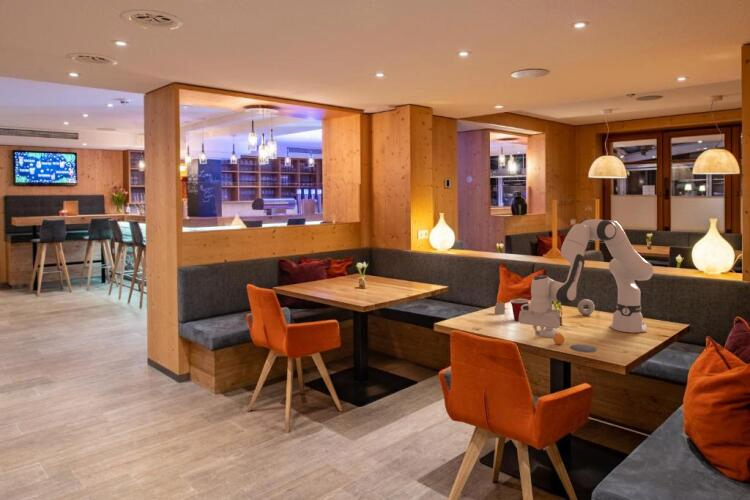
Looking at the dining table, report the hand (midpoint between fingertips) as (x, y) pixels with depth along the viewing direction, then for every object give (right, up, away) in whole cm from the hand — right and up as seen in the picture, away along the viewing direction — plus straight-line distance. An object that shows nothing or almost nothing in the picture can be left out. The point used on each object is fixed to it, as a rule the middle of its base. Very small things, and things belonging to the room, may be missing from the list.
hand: (538, 334), depth 281 cm
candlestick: (+9, -2, +12) cm, 16 cm away
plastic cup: (+2, +1, +44) cm, 44 cm away
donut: (+45, +3, +55) cm, 71 cm away
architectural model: (-6, +3, +61) cm, 61 cm away
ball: (+8, -1, -6) cm, 10 cm away
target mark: (+18, -5, -13) cm, 22 cm away
